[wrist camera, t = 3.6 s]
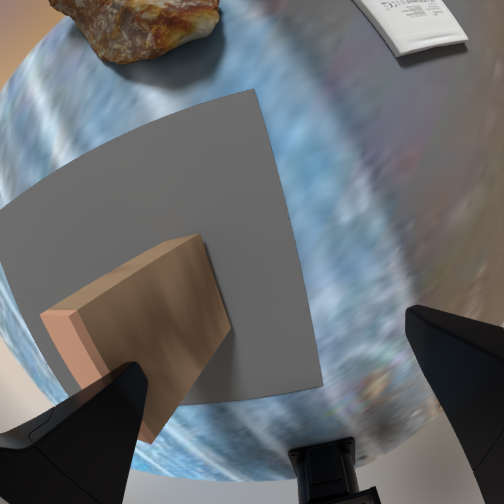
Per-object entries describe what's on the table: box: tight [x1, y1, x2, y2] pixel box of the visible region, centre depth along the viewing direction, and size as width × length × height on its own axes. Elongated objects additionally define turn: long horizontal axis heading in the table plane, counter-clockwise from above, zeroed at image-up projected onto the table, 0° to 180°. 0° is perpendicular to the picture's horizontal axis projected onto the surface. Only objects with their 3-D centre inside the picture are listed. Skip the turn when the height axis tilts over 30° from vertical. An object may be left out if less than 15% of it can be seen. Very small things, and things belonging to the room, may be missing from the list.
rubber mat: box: [0, 89, 323, 405], centre depth 17 cm, size 20×25×1 cm
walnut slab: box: [40, 233, 231, 444], centre depth 12 cm, size 6×2×9 cm, turn 15°
